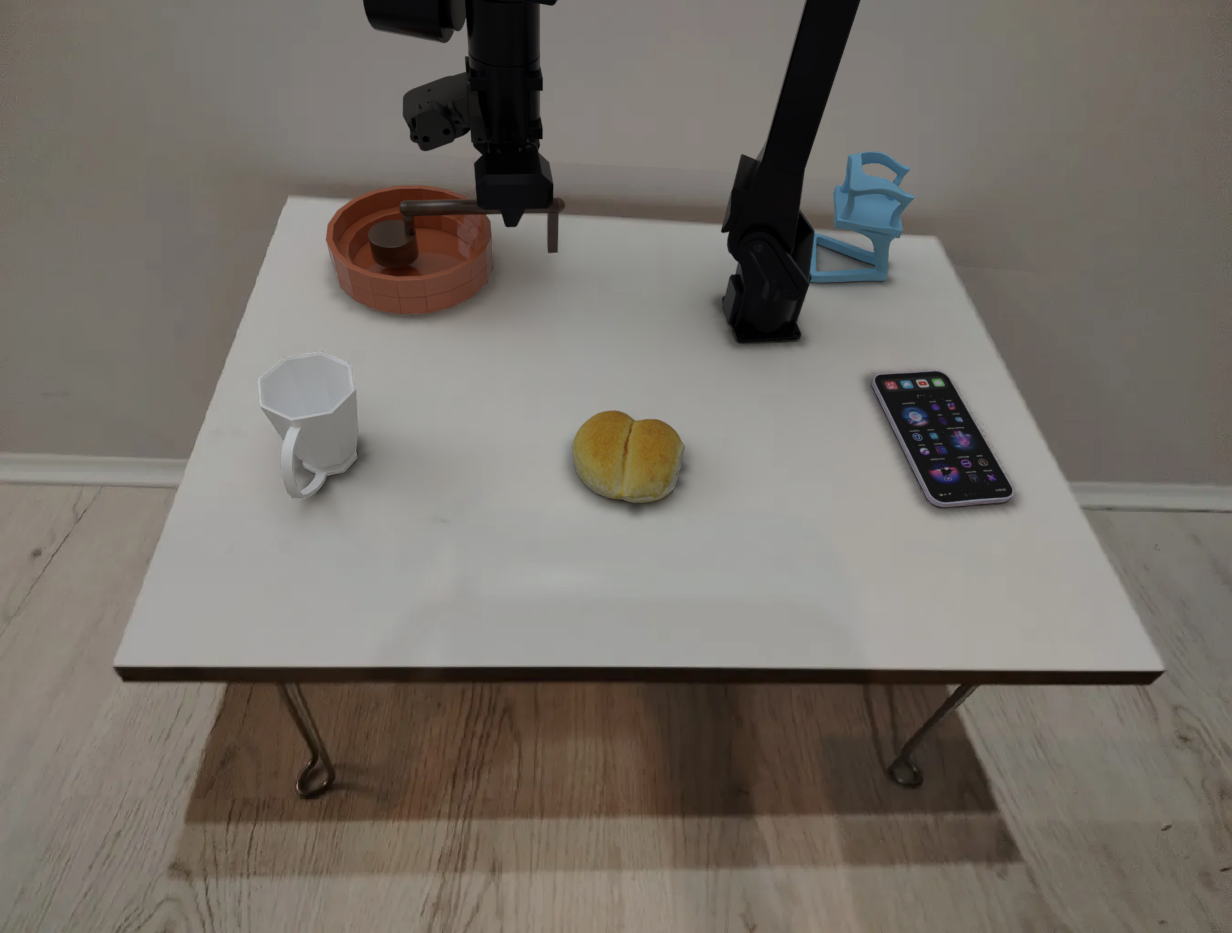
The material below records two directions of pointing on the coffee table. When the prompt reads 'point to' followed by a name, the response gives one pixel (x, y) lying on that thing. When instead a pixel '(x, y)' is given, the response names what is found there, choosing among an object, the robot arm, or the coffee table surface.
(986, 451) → the smartphone
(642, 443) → the bread roll
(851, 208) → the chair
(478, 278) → the bowl
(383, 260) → the ladle
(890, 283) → the coffee table surface
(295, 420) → the cup
